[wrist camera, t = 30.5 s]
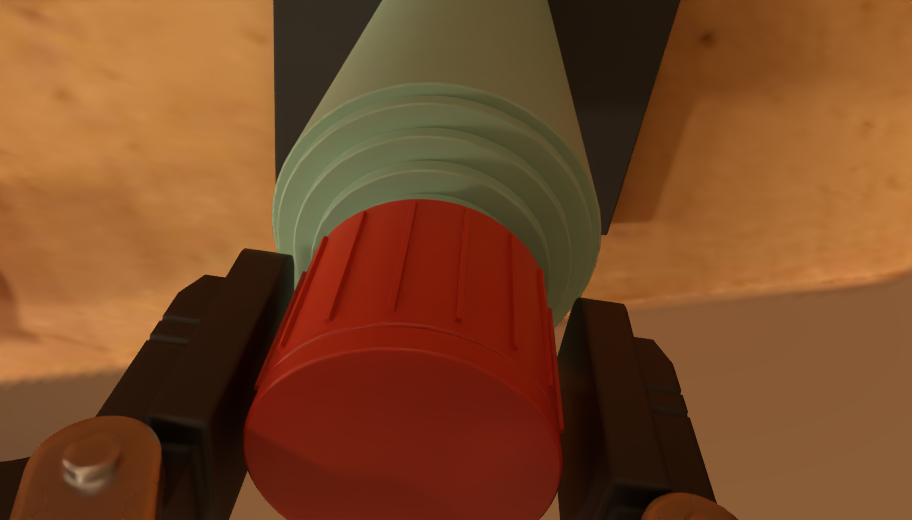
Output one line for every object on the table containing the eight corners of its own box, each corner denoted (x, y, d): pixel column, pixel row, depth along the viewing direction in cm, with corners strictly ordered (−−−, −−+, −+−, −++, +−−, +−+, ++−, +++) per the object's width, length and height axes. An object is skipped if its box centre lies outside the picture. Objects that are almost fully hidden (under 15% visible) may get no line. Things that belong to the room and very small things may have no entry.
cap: (303, 373, 12) (243, 543, 9) (307, 175, 10) (230, 322, 7) (521, 404, 12) (528, 581, 9) (574, 216, 10) (604, 375, 7)
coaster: (278, -226, 21) (269, -227, 20) (719, -152, 21) (727, -150, 20) (281, 175, 29) (275, 186, 28) (604, 224, 29) (606, 236, 28)
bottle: (390, -76, 22) (142, 190, 7) (569, -46, 22) (722, 278, 7) (376, 98, 25) (188, 538, 10) (531, 123, 26) (580, 591, 10)
